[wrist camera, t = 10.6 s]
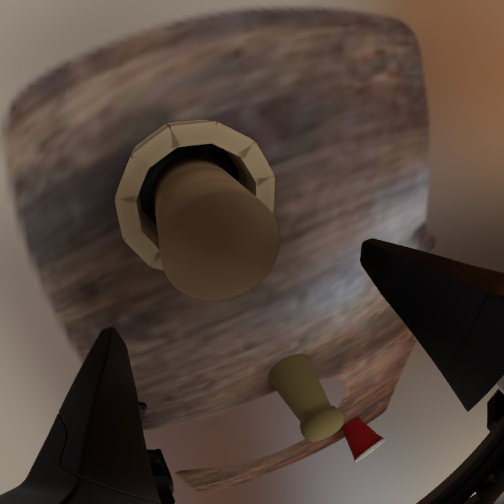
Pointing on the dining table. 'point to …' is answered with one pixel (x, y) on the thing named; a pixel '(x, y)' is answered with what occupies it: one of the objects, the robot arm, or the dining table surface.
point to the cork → (306, 397)
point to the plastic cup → (361, 438)
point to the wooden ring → (162, 143)
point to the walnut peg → (211, 230)
